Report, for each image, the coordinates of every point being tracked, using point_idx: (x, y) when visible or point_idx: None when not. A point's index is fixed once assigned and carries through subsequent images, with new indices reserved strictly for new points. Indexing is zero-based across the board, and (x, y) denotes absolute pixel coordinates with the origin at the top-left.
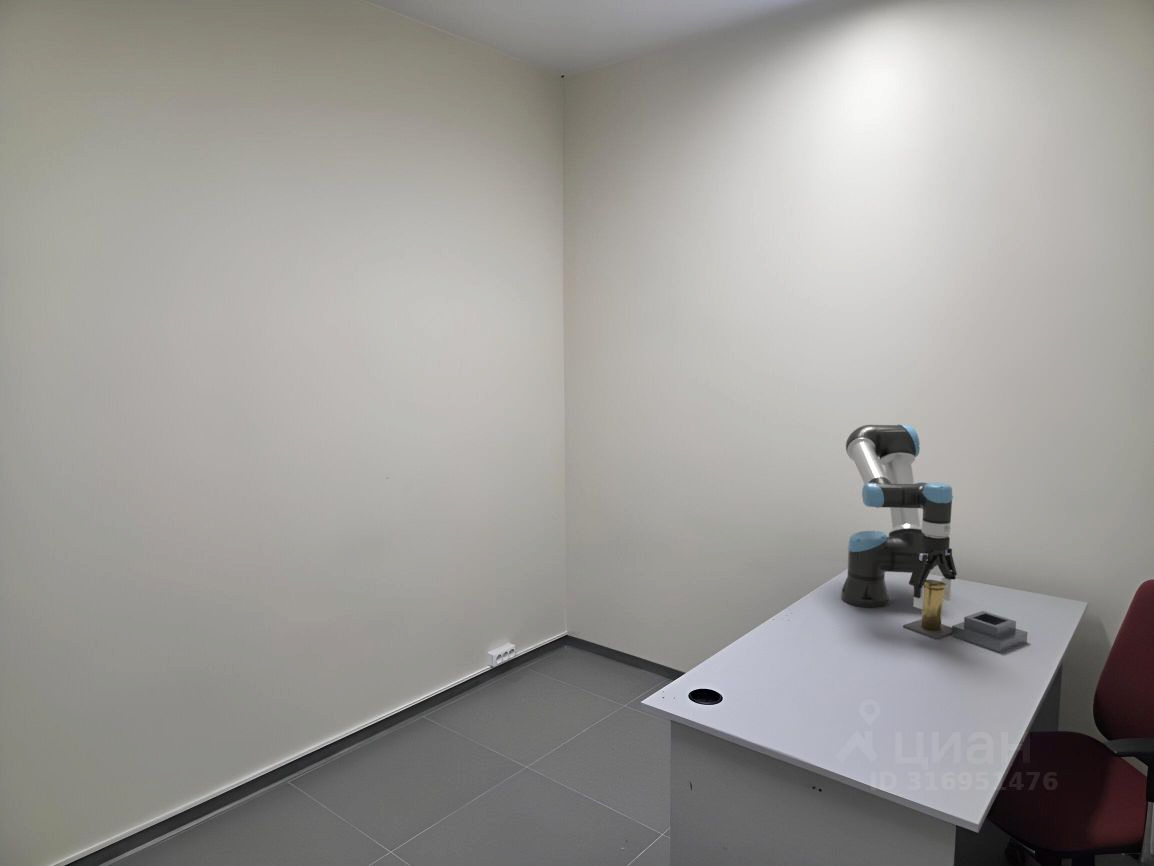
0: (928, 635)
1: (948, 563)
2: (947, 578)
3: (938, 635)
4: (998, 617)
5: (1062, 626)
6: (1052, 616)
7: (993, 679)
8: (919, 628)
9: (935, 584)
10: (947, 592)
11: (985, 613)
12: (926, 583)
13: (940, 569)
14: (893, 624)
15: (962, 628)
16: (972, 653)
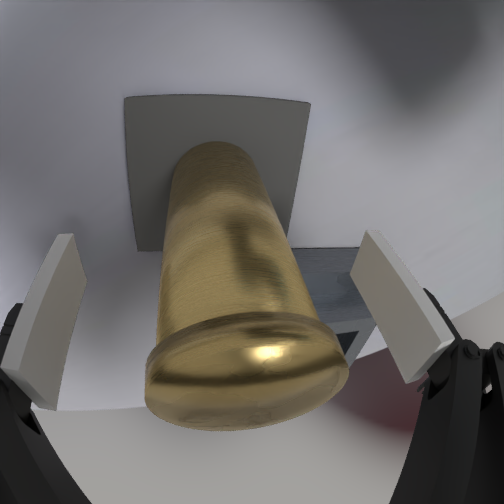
0: (134, 217)
1: (481, 467)
2: (435, 363)
3: (161, 242)
4: (345, 356)
5: (457, 313)
6: (494, 282)
7: (92, 380)
8: (157, 162)
9: (218, 414)
10: (373, 301)
11: (359, 331)
12: (159, 393)
13: (443, 437)
14: (127, 47)
15: None
16: (156, 329)
